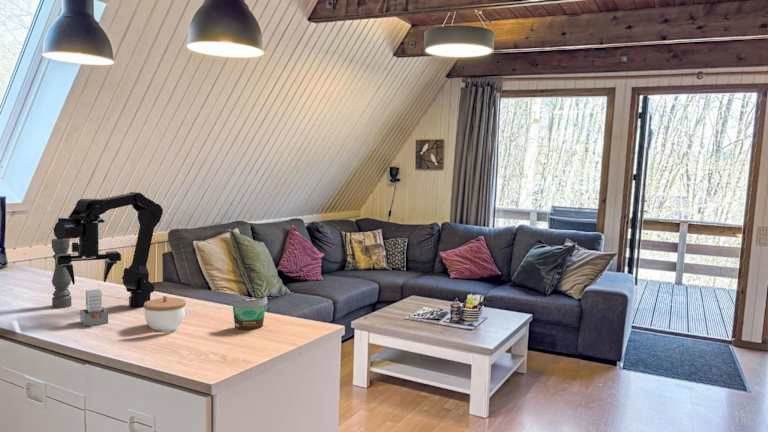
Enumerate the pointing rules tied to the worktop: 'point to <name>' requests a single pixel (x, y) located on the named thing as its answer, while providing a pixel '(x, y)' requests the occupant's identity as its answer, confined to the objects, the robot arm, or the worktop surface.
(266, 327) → the worktop surface
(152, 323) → the lidded bowl
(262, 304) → the food container
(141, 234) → the robot arm
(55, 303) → the candle holder
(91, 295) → the grey tall block
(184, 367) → the worktop surface
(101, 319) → the stand base
